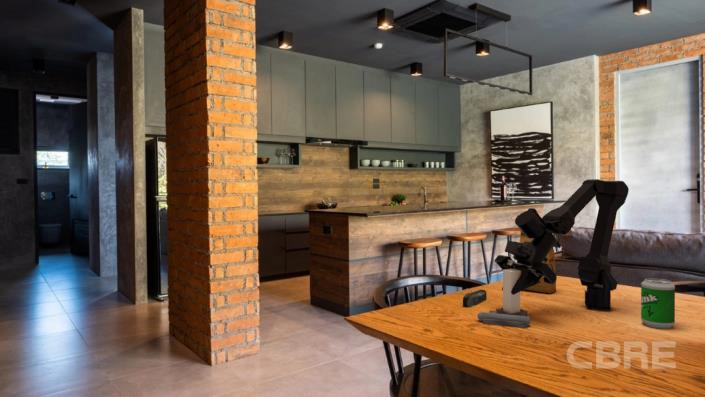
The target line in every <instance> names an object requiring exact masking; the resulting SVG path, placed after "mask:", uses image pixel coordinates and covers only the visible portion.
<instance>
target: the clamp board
mask: <svg viewBox="0 0 705 397" xmlns="http://www.w3.org/2000/svg"><path fill="white" fill-rule="evenodd" d="M528 312H529V311H528V310H525V309H522V308H520V312H515V313H509V312H506V311H504V310H503V307H499V308H495V310H491V309H490V310H489V311H488V313H497V314H507V315H518V316H529V317H530V318H531V314H530V313H528ZM482 325H488V326H490V325H491V326H498V327H499V326H500V327H509V328H518V329H528V327H529V326H527V323H525V322H514V321H504V320H494V319H484V318H483V321H482Z"/></svg>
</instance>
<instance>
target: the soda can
mask: <svg viewBox="0 0 705 397" xmlns="http://www.w3.org/2000/svg"><path fill="white" fill-rule="evenodd" d="M675 304H676V286H675V284H673V283H672V281H671V280H669V279H664V278H650V277H649V278H645V279H644V280H643V281H642V282H641V283H640V319H641V321H642V322H643V323H644V325H645V326H647V327H650V328H654V329H660V330H661V329H663V330H665V329H671V327H672V326H674V325H675V321H676V320H675V318H676V316H675V315H676V310H675V309H676V308H675V307H676V305H675Z"/></svg>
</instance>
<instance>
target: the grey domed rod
mask: <svg viewBox="0 0 705 397" xmlns="http://www.w3.org/2000/svg"><path fill="white" fill-rule="evenodd" d="M483 318H484V319H494V320H504V321H514V322H525V323H527V326H528V327H530V325H531V316H530V317H529V316H518V315H507V314H497V313H489V312H486V311H485V312H484V311H481V312H479V313H477V320H478V321H480V322H483Z"/></svg>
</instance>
